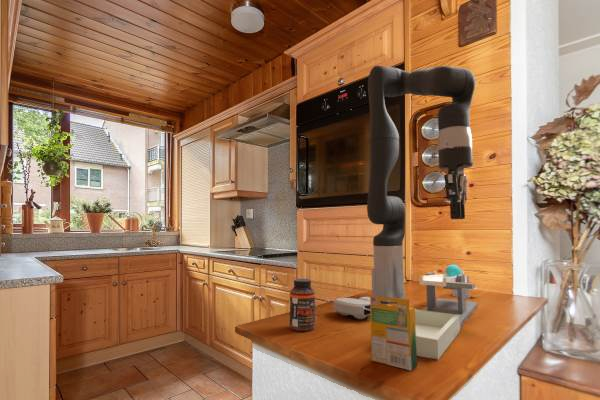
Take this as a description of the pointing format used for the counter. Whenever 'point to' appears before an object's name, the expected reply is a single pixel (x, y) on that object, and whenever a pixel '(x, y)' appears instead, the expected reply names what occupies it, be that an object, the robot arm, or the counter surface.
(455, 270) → the ball
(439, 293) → the counter surface
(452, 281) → the trough
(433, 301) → the stand
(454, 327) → the tray
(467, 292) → the architectural model
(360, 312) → the robot toy
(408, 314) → the crayon box
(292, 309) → the supplement bottle
